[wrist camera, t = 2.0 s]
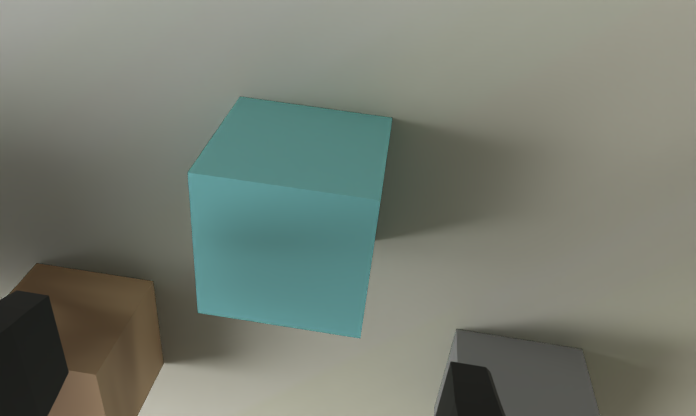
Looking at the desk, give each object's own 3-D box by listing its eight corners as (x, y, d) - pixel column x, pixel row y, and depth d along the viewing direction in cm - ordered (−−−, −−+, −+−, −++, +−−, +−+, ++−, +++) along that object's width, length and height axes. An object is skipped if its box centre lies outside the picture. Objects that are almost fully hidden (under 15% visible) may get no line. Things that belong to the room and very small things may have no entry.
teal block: (242, 219, 18) (197, 312, 14) (240, 95, 15) (187, 172, 12) (374, 239, 17) (360, 338, 14) (392, 116, 15) (380, 200, 12)
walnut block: (60, 344, 22) (-7, 438, 19) (38, 261, 20) (-43, 351, 16) (164, 361, 22) (115, 459, 18) (154, 280, 20) (95, 374, 16)
